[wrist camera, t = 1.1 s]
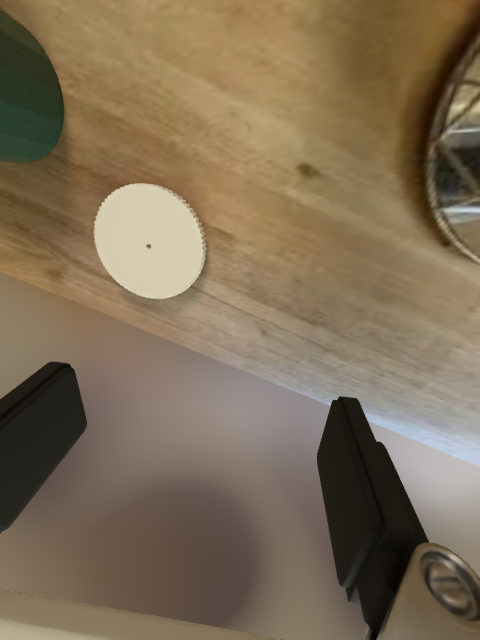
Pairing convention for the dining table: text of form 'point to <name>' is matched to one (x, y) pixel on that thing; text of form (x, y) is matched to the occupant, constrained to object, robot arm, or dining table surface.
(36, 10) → the dining table surface
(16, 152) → the pot
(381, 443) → the robot arm
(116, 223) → the plastic lid
